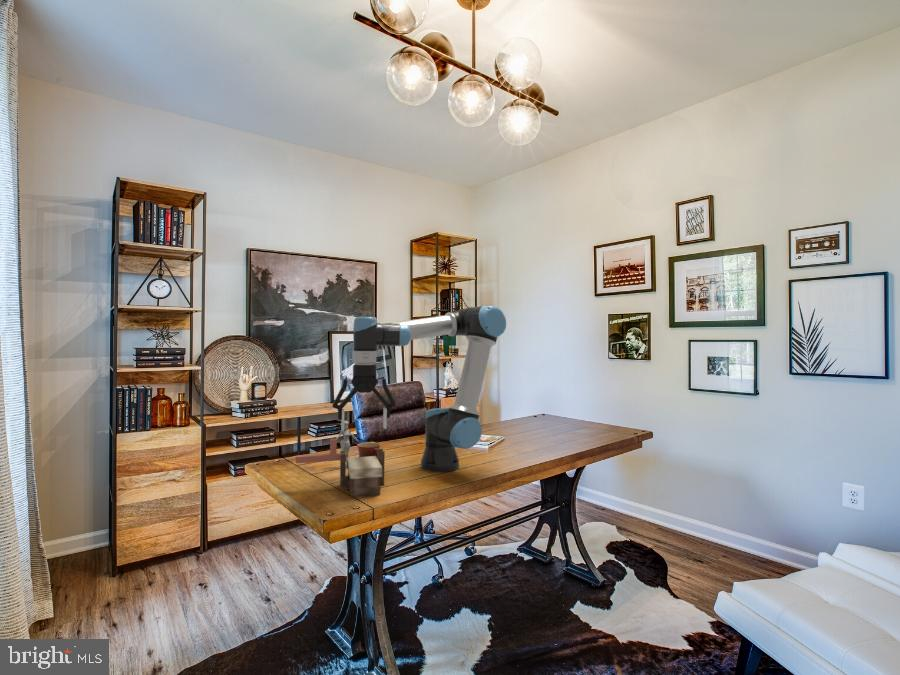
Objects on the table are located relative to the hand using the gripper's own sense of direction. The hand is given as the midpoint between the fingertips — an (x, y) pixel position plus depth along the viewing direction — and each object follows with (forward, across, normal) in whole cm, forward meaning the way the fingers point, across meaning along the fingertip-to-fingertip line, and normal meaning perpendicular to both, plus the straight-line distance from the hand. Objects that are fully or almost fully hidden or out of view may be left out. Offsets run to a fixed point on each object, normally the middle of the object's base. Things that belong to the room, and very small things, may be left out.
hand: (364, 429), depth 153 cm
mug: (+21, +5, +22) cm, 31 cm away
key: (+11, -13, +7) cm, 19 cm away
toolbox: (+21, 0, +3) cm, 21 cm away
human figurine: (+21, -4, +32) cm, 38 cm away
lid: (+15, 0, +3) cm, 15 cm away
